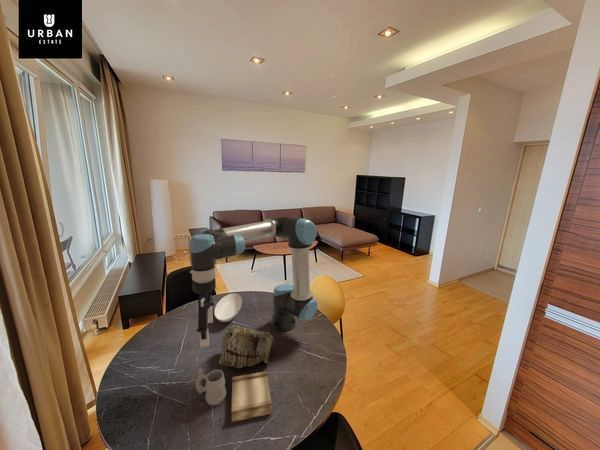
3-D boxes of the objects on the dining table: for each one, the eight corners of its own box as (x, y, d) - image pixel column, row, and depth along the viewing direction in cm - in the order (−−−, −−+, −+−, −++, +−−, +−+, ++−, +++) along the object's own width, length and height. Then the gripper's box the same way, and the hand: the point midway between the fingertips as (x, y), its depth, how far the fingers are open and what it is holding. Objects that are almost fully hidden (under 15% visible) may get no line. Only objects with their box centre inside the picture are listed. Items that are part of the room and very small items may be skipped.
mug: (221, 407, 91) (220, 380, 88) (191, 403, 92) (189, 376, 89) (229, 390, 98) (228, 364, 96) (201, 386, 99) (199, 361, 97)
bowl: (236, 329, 136) (236, 319, 135) (209, 329, 135) (208, 320, 134) (245, 301, 165) (245, 293, 164) (222, 301, 164) (222, 293, 163)
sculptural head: (277, 321, 124) (228, 313, 124) (273, 341, 102) (214, 332, 102) (272, 354, 124) (223, 347, 124) (267, 381, 103) (208, 373, 103)
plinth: (266, 378, 104) (266, 370, 103) (271, 413, 89) (271, 404, 88) (232, 384, 101) (232, 376, 100) (231, 422, 86) (231, 412, 85)
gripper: (197, 266, 96) (200, 315, 100) (184, 297, 72) (189, 359, 76) (218, 265, 98) (220, 313, 102) (211, 295, 74) (214, 356, 78)
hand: (207, 333), depth 89 cm, fingers open, 13 cm apart
